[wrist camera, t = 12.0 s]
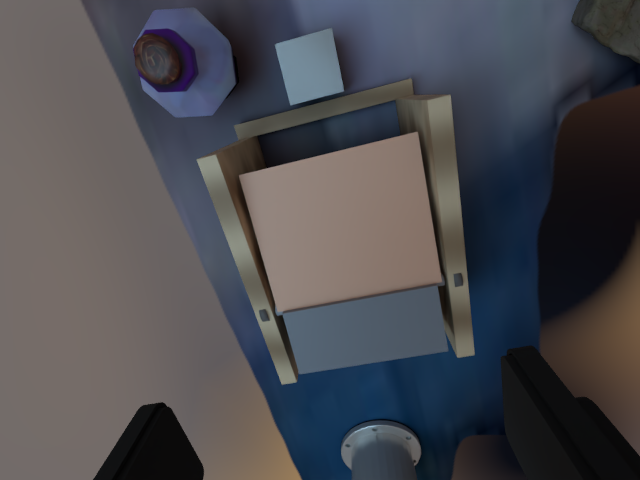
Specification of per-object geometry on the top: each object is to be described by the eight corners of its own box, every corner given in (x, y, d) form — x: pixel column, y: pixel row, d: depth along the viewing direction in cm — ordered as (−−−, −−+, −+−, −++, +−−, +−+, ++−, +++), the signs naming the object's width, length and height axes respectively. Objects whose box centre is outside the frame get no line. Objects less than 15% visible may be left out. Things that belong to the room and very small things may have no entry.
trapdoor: (443, 326, 32) (456, 349, 28) (298, 350, 34) (291, 375, 30) (411, 133, 28) (421, 130, 24) (248, 173, 30) (234, 176, 26)
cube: (344, 91, 30) (343, 91, 35) (331, 27, 28) (332, 37, 33) (290, 105, 31) (296, 104, 36) (274, 44, 29) (283, 51, 34)
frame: (435, 289, 43) (477, 370, 31) (300, 314, 46) (285, 398, 33) (407, 79, 34) (449, 69, 21) (239, 124, 36) (186, 139, 24)
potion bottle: (153, 48, 34) (64, 25, 23) (226, 3, 32) (168, -45, 21) (200, 130, 37) (141, 144, 26) (269, 93, 35) (238, 92, 24)
